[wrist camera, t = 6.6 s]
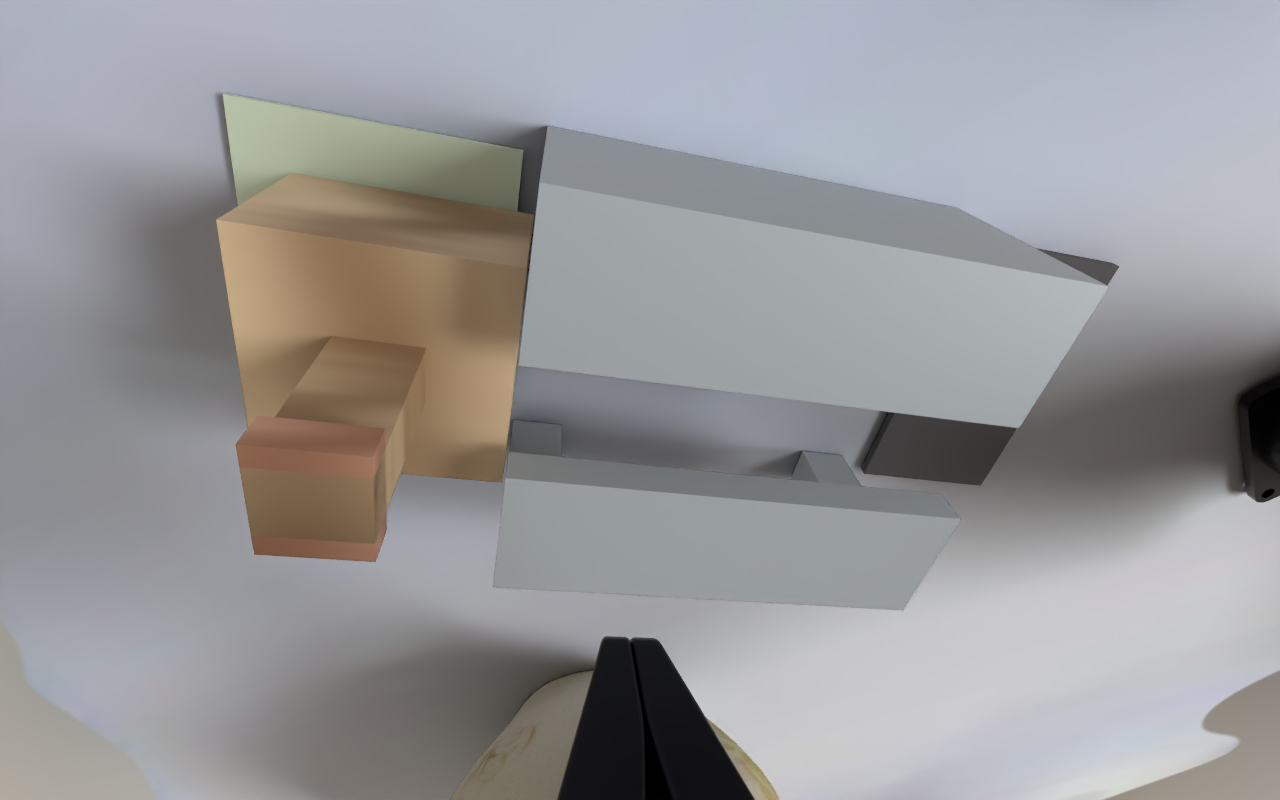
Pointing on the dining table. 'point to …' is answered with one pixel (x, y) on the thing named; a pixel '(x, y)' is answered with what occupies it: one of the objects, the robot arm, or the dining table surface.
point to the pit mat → (952, 428)
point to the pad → (364, 155)
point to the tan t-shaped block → (367, 352)
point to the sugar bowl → (559, 749)
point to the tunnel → (762, 368)
